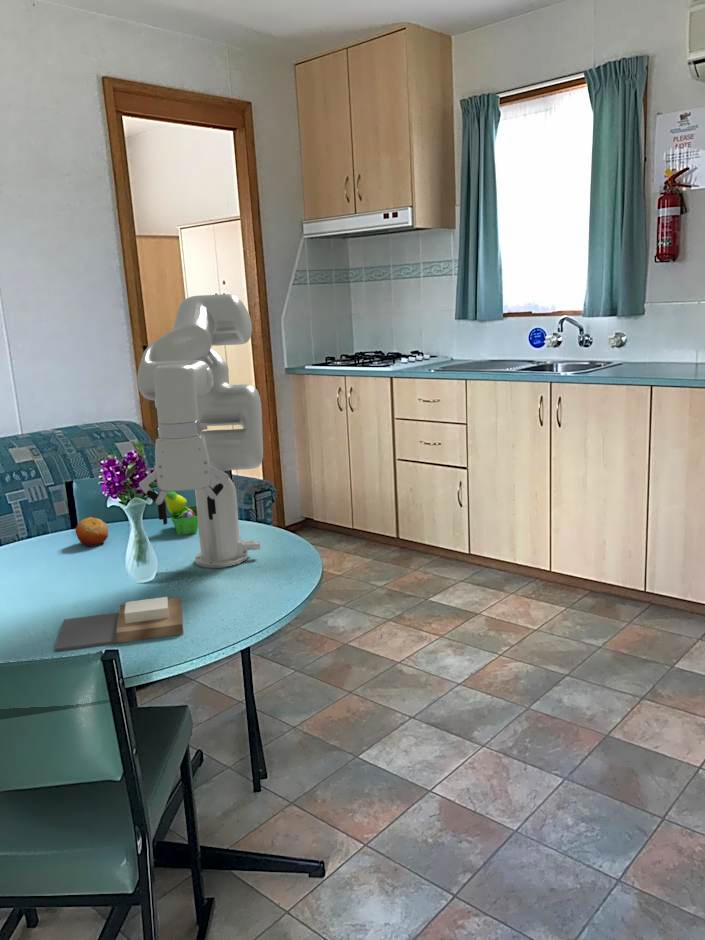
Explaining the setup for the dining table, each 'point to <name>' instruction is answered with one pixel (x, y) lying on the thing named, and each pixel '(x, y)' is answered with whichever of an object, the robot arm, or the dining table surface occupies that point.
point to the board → (151, 624)
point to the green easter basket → (182, 514)
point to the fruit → (91, 531)
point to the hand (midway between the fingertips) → (188, 519)
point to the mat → (88, 631)
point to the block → (146, 610)
